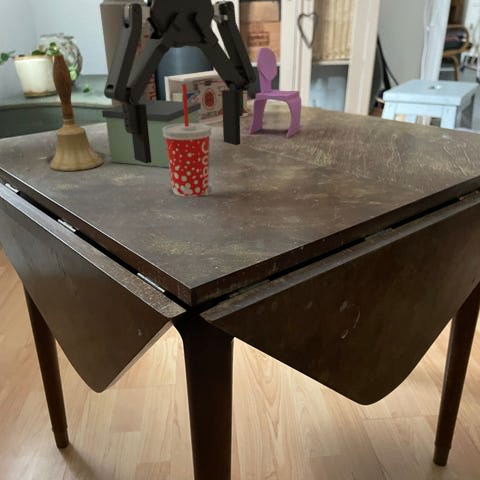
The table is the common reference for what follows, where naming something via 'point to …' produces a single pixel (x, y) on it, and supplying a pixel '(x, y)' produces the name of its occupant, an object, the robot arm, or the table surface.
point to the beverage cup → (188, 155)
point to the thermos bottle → (111, 34)
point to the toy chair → (273, 93)
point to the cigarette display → (201, 94)
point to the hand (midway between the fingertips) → (189, 152)
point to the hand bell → (70, 128)
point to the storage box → (157, 119)
